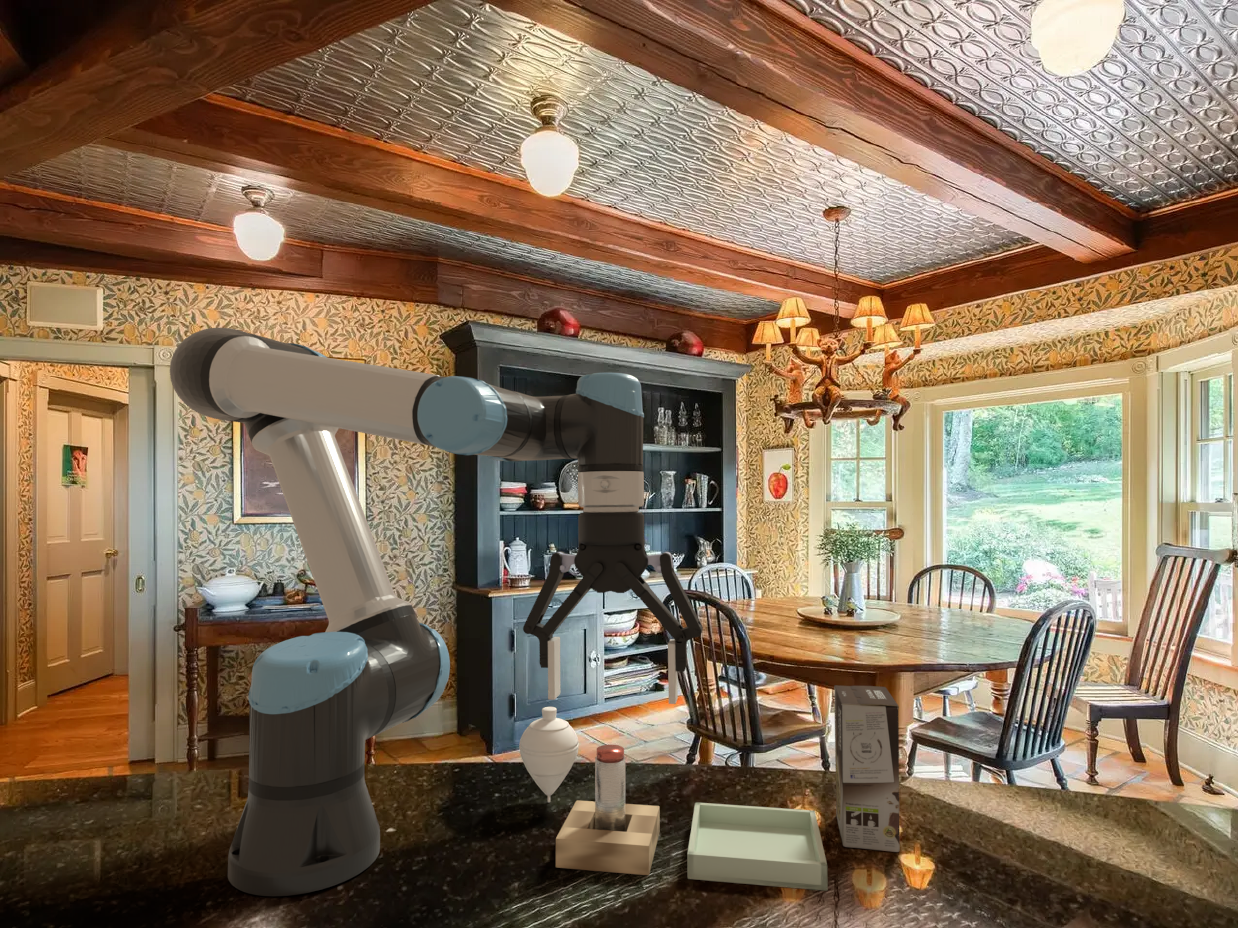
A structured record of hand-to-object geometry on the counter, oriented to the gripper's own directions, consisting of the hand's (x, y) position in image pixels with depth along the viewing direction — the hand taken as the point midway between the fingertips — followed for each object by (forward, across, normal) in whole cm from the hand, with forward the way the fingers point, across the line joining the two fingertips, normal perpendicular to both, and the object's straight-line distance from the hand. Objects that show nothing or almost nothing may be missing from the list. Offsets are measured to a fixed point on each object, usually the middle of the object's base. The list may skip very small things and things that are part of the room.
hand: (613, 698), depth 83 cm
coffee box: (+17, +28, +9) cm, 35 cm away
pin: (+17, 0, 0) cm, 17 cm away
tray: (+17, +16, +2) cm, 23 cm away
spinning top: (+17, -10, +11) cm, 23 cm away
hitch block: (+17, 0, 0) cm, 17 cm away
